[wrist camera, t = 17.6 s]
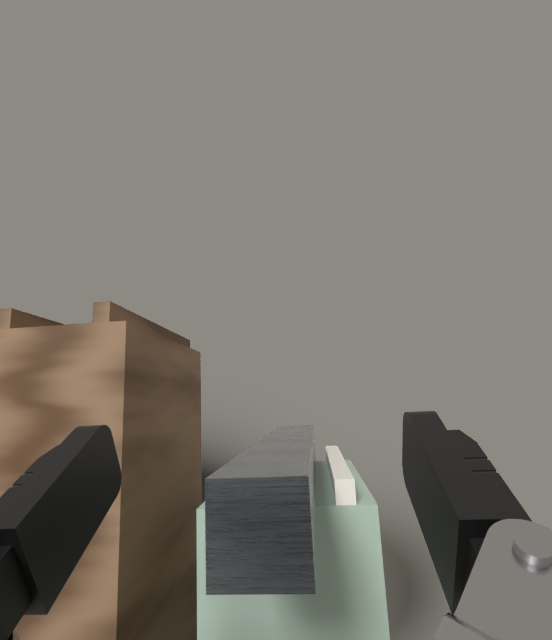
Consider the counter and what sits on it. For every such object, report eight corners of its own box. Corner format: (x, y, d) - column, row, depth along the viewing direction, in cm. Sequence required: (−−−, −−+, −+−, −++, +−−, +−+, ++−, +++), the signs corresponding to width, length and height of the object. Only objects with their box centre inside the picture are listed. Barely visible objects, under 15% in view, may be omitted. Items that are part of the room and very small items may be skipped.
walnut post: (-106, 1084, 17) (-21, 310, 23) (91, 763, 31) (108, 345, 38) (101, 1104, 16) (126, 300, 23) (203, 766, 30) (200, 339, 37)
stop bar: (206, 594, 11) (204, 478, 11) (280, 462, 34) (279, 426, 35) (315, 594, 11) (308, 475, 11) (315, 461, 34) (313, 425, 35)
